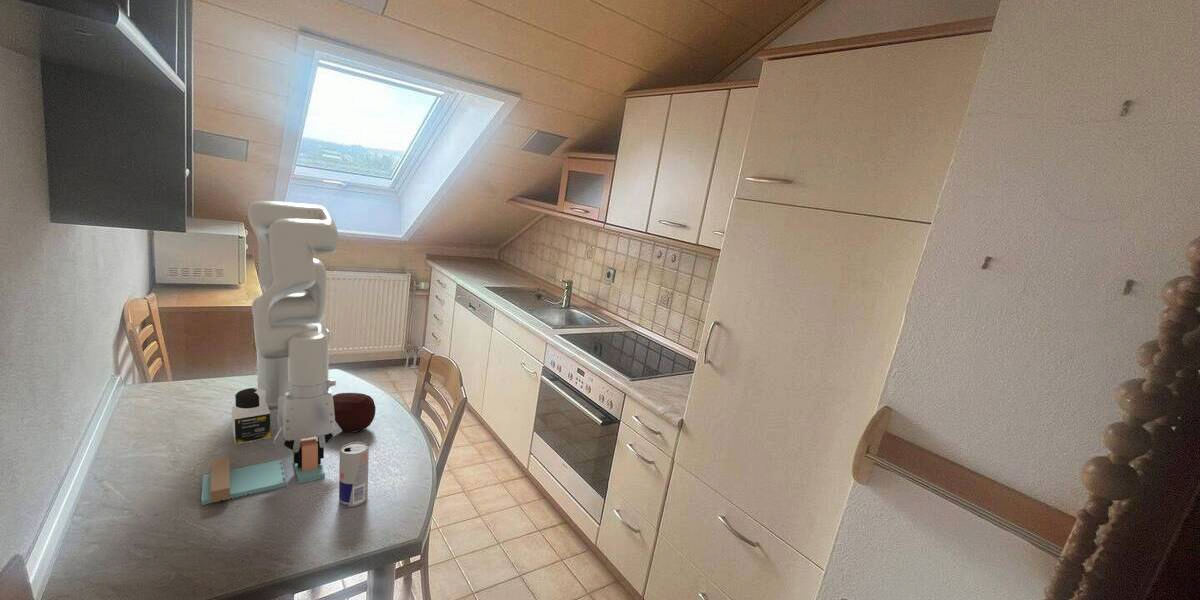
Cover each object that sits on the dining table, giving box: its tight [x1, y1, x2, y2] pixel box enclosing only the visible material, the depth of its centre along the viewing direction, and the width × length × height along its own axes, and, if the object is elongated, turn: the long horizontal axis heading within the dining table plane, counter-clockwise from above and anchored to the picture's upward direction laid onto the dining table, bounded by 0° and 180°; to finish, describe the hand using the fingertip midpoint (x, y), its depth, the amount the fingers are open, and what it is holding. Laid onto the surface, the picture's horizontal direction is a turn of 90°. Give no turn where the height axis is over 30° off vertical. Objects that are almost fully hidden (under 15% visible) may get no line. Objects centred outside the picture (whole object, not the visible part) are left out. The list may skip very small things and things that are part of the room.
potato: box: [332, 392, 376, 433], centre depth 128 cm, size 11×13×10 cm
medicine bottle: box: [231, 387, 272, 445], centre depth 119 cm, size 7×7×12 cm
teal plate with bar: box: [200, 456, 287, 506], centre depth 102 cm, size 13×14×3 cm
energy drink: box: [338, 441, 370, 508], centre depth 100 cm, size 5×5×12 cm
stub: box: [292, 436, 326, 484], centre depth 109 cm, size 10×5×7 cm, turn 37°
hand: (308, 462), depth 109 cm, fingers closed on stub, 3 cm apart
